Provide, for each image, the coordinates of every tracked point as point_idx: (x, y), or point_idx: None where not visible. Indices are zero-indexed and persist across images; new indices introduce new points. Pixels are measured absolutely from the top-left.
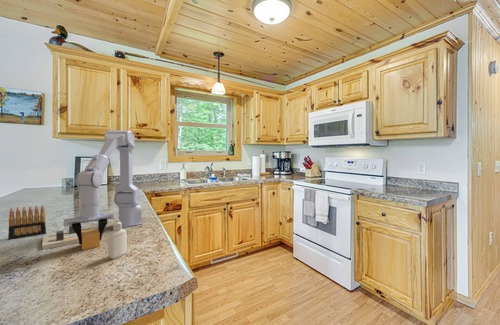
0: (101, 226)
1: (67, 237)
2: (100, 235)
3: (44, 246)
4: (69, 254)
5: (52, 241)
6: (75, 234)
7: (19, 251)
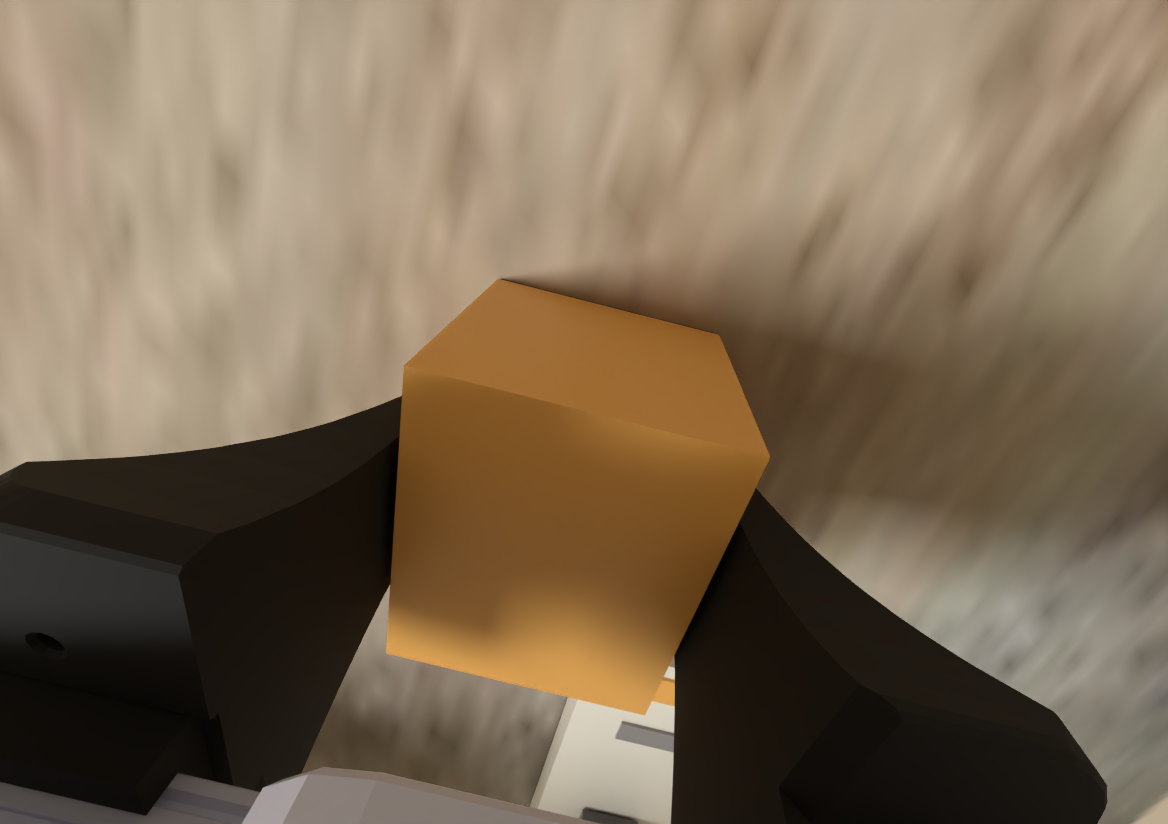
0: (264, 485)
1: None
2: None
3: None
4: (901, 317)
5: None
6: (600, 778)
7: None
